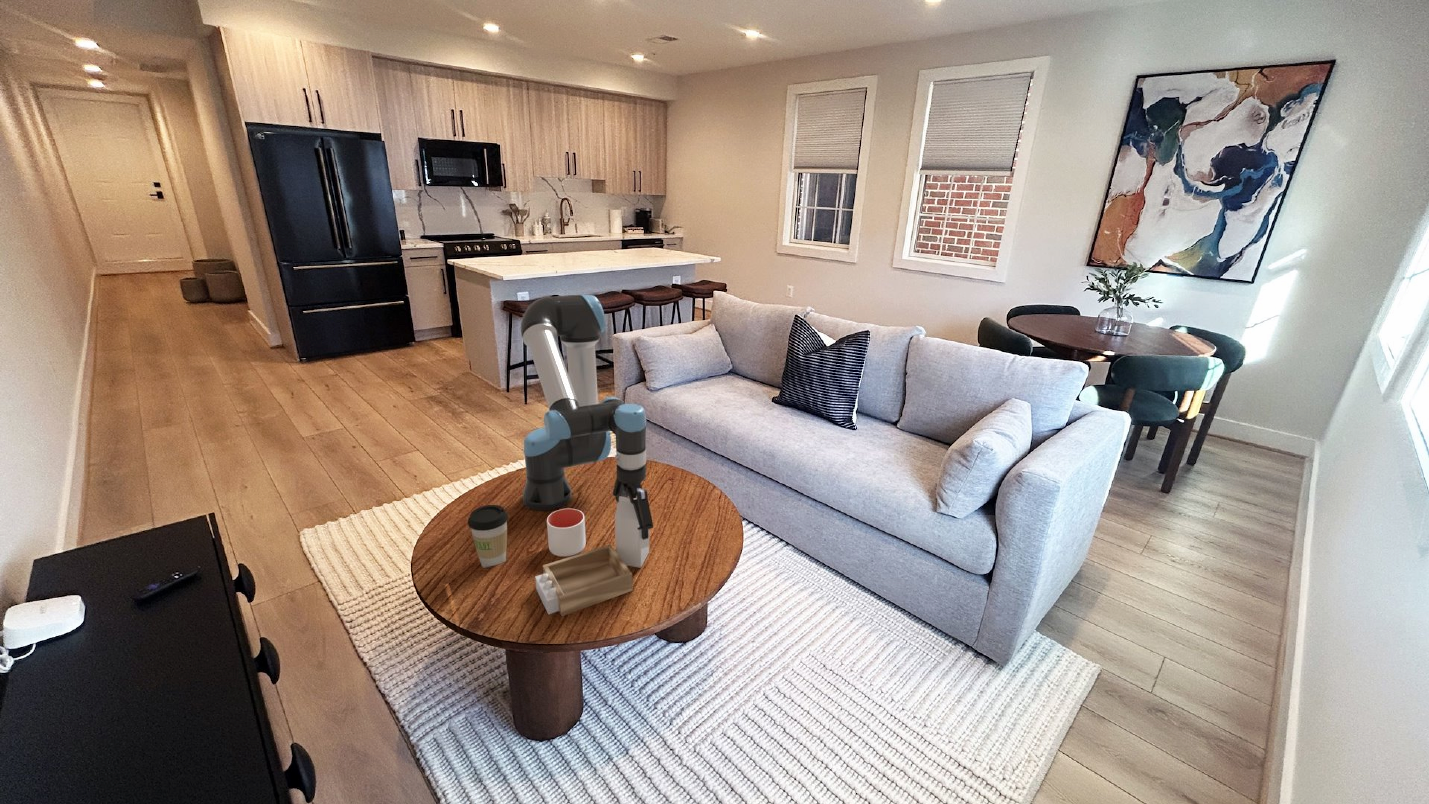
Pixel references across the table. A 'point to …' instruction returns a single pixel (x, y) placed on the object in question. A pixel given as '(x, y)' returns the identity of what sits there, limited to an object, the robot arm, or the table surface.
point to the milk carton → (628, 534)
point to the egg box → (547, 593)
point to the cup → (566, 532)
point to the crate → (589, 578)
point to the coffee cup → (489, 534)
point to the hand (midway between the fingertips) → (632, 534)
